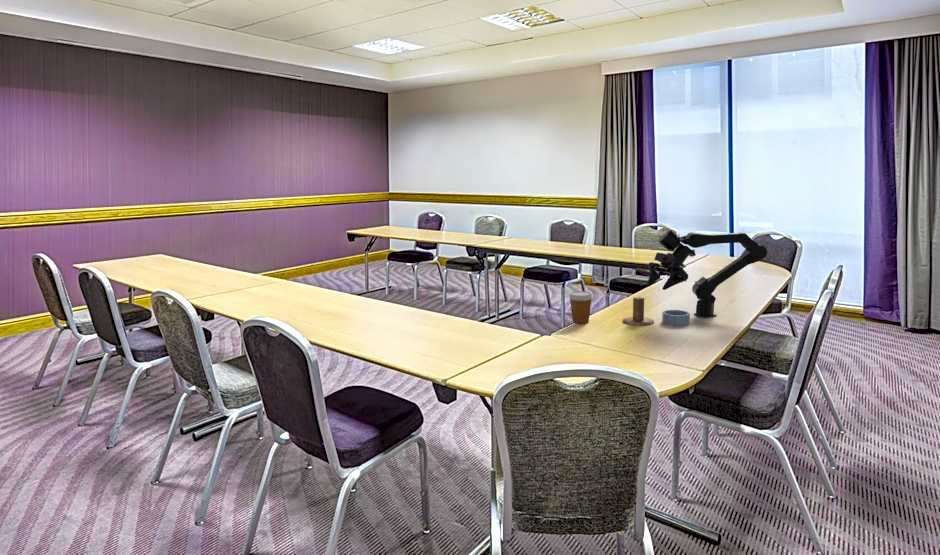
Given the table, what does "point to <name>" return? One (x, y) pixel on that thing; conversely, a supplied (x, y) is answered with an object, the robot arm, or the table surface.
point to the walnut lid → (638, 314)
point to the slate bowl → (676, 317)
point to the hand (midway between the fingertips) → (655, 287)
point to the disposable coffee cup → (580, 306)
